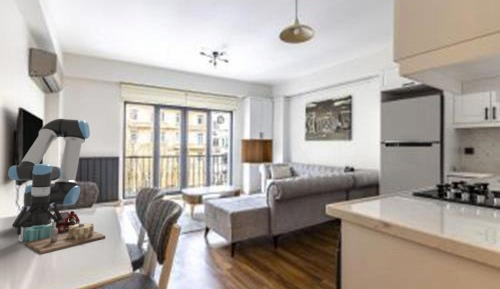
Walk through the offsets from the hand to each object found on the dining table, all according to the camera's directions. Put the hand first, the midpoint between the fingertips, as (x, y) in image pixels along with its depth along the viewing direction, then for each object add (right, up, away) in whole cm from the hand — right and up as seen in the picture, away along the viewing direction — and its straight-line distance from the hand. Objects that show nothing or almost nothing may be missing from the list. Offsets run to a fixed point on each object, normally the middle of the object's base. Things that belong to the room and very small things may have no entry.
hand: (37, 237), depth 134 cm
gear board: (+16, -1, -2) cm, 17 cm away
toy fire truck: (+5, -1, +14) cm, 14 cm away
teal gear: (0, 0, 0) cm, 0 cm away
